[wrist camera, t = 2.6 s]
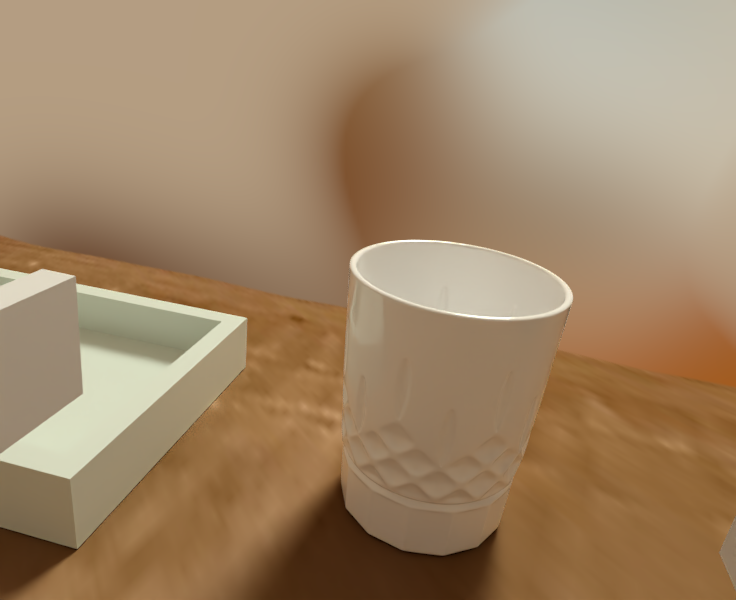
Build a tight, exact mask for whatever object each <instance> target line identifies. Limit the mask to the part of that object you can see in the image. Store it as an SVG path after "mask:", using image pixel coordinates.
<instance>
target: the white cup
mask: <svg viewBox="0 0 736 600" xmlns="http://www.w3.org/2000/svg"><path fill="white" fill-rule="evenodd" d="M349 265H350V266H349V284H348V303H347V320H346V337H345V354H344V371H343V410H342V441H343V453H342V468H341V485H342V491H343V496H344V502H345V507H346V509H347V510H348V511H349V512H350V514H351V515H352V516H353V517H354V518H355V519H356V520H357V522H358V523H359V524H360V525H361V526H362V527H363V528H364V530H365V531H366V532H367V533H368V534H370V535H372V536H374V537H376V538H378V539H380V540H382V541H384V542H386V543H388V544H390V545H392V546H394V547H396V548H398V549H400V550H402V551H408V552H415V553H423V554H432V555H440V556H444V555H448V554H452V553H456V552H460V551H464V550H468V549H472V548H476V547H478V546H479V545H480V544H481V543H482V542H483V541H484V540H485V539H486V538H487V537H488V536H489V535H490V534H491V533H492V532H494V531H495V530H496V529H497V528H498V526H499V524H500V521H501V517H502V514H503V511H504V507H505V504H506V500H507V497H508V494H509V490H510V487H511V484H512V480H513V477H514V475H515V473H516V471H517V469H518V467H519V465H520V463H521V461H522V458H523V455H524V452H525V450H526V446H527V443H528V440H529V436H530V433H531V431H532V428H533V425H534V422H535V420H536V417H537V414H538V411H539V408H540V405H541V402H542V399H543V395H544V392H545V389H546V385H547V382H548V379H549V376H550V372H551V369H552V366H553V363H554V359H555V356H556V353H557V349H558V346H559V342H560V340H561V336H562V333H563V330H564V327H565V324H566V320H567V317H568V314H569V311H570V308H571V305H572V301H573V294H572V291H571V289H570V288H569V286H568V285H567V284H566V283H565V282H564V281H563V280H562V279H561V278H559V277H558V276H557V275H555V274H553V273H552V272H550V271H548V270H547V269H545V268H543V267H541V266H539V265H537V264H535V263H532V262H530V261H527V260H525V259H522V258H519V257H516V256H513V255H510V254H507V253H503V252H500V251H496V250H492V249H488V248H483V247H479V246H473V245H467V244H461V243H454V242H445V241H432V240H400V241H391V242H383V243H379V244H375V245H371V246H368V247H365V248H363V249H361V250H359V251H358V252H356V253H355V254H354V255H353V256H352V258H351V260H350V264H349Z"/></svg>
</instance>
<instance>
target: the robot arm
mask: <svg viewBox="0 0 736 600" xmlns="http://www.w3.org/2000/svg"><path fill="white" fill-rule="evenodd" d="M82 394H83V384H82V368H81V353H80V337H79V321H78V305H77V289H76V276H73V275H68V274H63V273H59V272H54V271H49V270H45V269H41V270H39V271H36V272H34V273H31V274H29V275H26V276H24V277H21V278H19V279H16V280H14V281H11V282H9V283H6V284H4V285H1V286H0V454H1V453H2V452H4V451H5V450H6V449H8V448H9V447H10V446H12V445H13V444H15V443H16V442H17V441H19V440H20V439H21V438H23V437H24V436H26V435H27V434H28V433H30V432H31V431H32V430H34V429H35V428H37V427H38V426H39V425H41V424H42V423H43V422H45V421H46V420H48V419H49V418H50V417H52V416H53V415H54V414H56V413H57V412H59V411H60V410H61V409H63V408H64V407H65V406H67V405H68V404H70V403H71V402H72V401H74V400H75V399H76V398H78V397H79V396H81V395H82ZM719 553H720V556H721V558H722V560H723V563H724V565H725V567H726V569H727V572H728V574H729V576H730V579H731V581H732V583H733V585H734V588H735V590H736V517H735V519H734V521H733V523H732V525H731V528H730V530H729V532H728V534H727V537H726V539H725V541H724V543H723V545H722V548H721V550H720V552H719Z"/></svg>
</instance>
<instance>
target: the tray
mask: <svg viewBox="0 0 736 600" xmlns="http://www.w3.org/2000/svg"><path fill="white" fill-rule="evenodd" d="M26 275H29V274H26V273H21V272H16V271H11V270H6V269H1V268H0V286H1V285H4V284H6V283H9V282H11V281H14V280H16V279H19V278H21V277H24V276H26ZM76 289H77V305H78V321H79V337H80V353H81V368H82V384H83V394H82V395H81V396H79V397H78V398H76V399H75V400H74V401H72V402H71V403H70V404H68V405H67V406H65V407H64V408H63V409H61V410H60V411H59V412H57V413H56V414H54V415H53V416H52V417H50V418H49V419H48V420H46V421H45V422H43V423H42V424H41V425H39V426H38V427H37V428H35V429H34V430H32V431H31V432H30V433H28V434H27V435H26V436H24V437H23V438H21V439H20V440H19V441H17V442H16V443H15V444H13V445H12V446H10V447H9V448H8V449H6V450H5V451H4V452H2V453H1V454H0V527H2V528H5V529H9V530H12V531H16V532H19V533H23V534H26V535H30V536H33V537H37V538H40V539H43V540H47V541H50V542H54V543H57V544H61V545H64V546H68V547H71V548H75V549H78V548H79V547H80V546H81V545H82V544H83V542H84V541H85V540H86V539H87V538H88V537H89V536H90V535H91V534H92V533H93V532H94V531H95V529H96V528H97V527H98V526H99V525H100V524H101V523H102V522H103V521H104V520H105V519H106V518H107V516H108V515H109V514H110V513H111V512H112V511H113V510H114V509H115V508H116V507H117V506H118V505H119V503H120V502H121V501H122V500H123V499H124V498H125V497H126V496H127V495H128V494H129V493H130V492H131V490H132V489H133V488H134V487H135V486H136V485H137V484H138V483H139V482H140V481H141V480H142V479H143V477H144V476H145V475H146V474H147V473H148V472H149V471H150V470H151V469H152V468H153V467H154V466H155V464H156V463H157V462H158V461H159V460H160V459H161V458H162V457H163V456H164V455H165V454H166V453H167V451H168V450H169V449H170V448H171V447H172V446H173V445H174V444H175V443H176V442H177V441H178V440H179V438H180V437H181V436H182V435H183V434H184V433H185V432H186V431H187V430H188V429H189V428H190V427H191V425H192V424H193V423H194V422H195V421H196V420H197V419H198V418H199V417H200V416H201V415H202V414H203V412H204V411H205V410H206V409H207V408H208V407H209V406H210V405H211V404H212V403H213V402H214V401H215V399H216V398H217V397H218V396H219V395H220V394H221V393H222V392H223V391H224V390H225V389H226V388H227V386H228V385H229V384H230V383H231V382H232V381H233V380H234V379H235V378H236V377H237V376H238V374H239V373H240V372H241V371H242V370H243V369H244V368H245V367H246V340H247V318H244V317H239V316H234V315H229V314H224V313H219V312H215V311H210V310H205V309H200V308H195V307H190V306H185V305H180V304H175V303H170V302H165V301H160V300H155V299H150V298H145V297H140V296H135V295H130V294H125V293H120V292H115V291H110V290H105V289H100V288H95V287H90V286H86V285H81V284H76Z"/></svg>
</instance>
